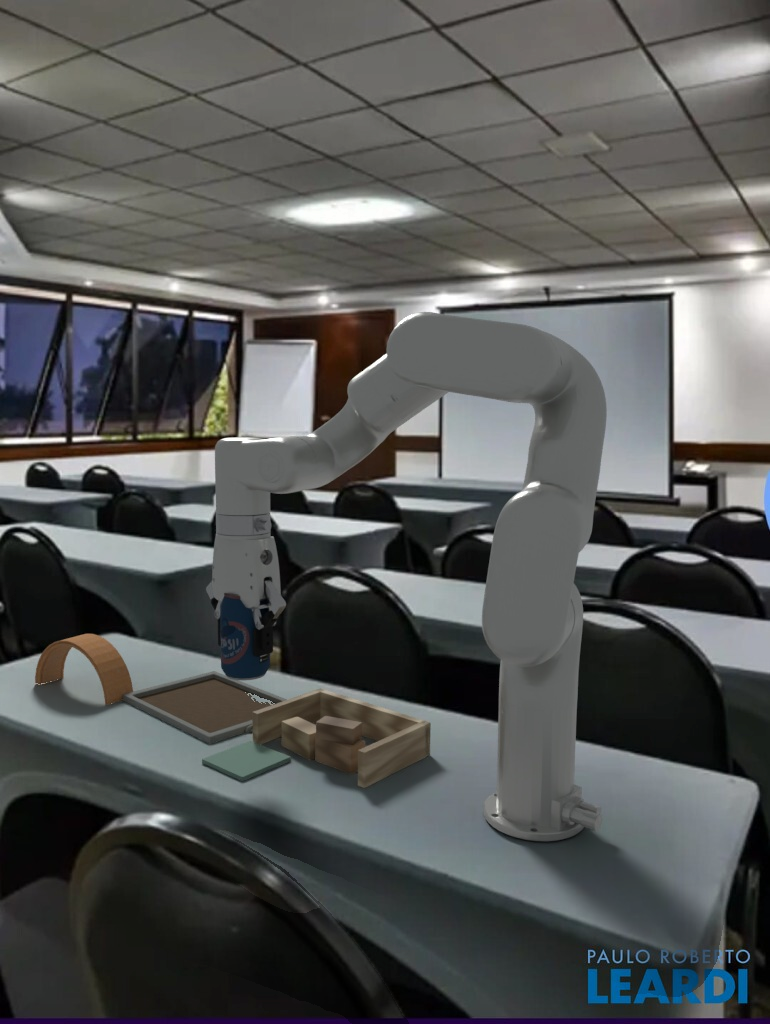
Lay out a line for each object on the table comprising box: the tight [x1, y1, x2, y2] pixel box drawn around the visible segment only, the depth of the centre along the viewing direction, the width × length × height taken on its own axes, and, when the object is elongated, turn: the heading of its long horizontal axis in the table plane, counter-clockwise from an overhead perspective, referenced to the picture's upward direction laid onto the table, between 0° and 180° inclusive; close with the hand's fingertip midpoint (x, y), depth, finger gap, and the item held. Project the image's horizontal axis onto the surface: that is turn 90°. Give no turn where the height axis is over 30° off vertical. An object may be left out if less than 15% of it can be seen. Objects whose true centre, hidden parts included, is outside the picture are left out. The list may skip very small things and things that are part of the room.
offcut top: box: [315, 716, 363, 745], centre depth 119 cm, size 6×3×2 cm, turn 65°
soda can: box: [220, 593, 271, 681], centre depth 117 cm, size 7×7×12 cm
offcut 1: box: [281, 717, 316, 761], centre depth 124 cm, size 7×3×4 cm, turn 42°
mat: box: [201, 740, 292, 782], centre depth 120 cm, size 9×9×1 cm
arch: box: [34, 633, 134, 706], centre depth 150 cm, size 6×20×10 cm, turn 58°
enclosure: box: [252, 688, 431, 789], centre depth 124 cm, size 23×15×5 cm, turn 49°
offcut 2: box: [314, 735, 366, 775], centre depth 119 cm, size 7×3×4 cm, turn 50°
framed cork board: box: [122, 671, 288, 745], centre depth 142 cm, size 19×2×30 cm
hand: (245, 648), depth 118 cm, fingers closed on soda can, 7 cm apart
